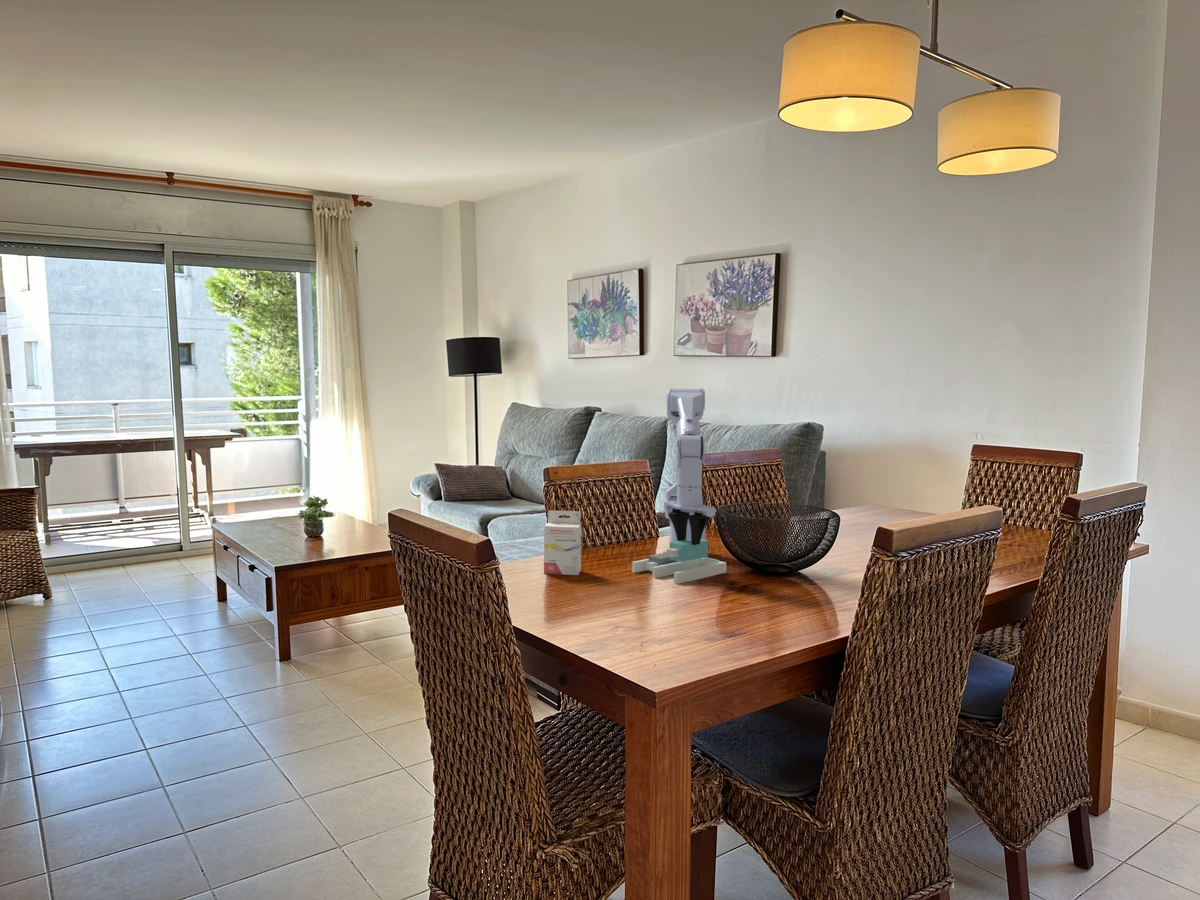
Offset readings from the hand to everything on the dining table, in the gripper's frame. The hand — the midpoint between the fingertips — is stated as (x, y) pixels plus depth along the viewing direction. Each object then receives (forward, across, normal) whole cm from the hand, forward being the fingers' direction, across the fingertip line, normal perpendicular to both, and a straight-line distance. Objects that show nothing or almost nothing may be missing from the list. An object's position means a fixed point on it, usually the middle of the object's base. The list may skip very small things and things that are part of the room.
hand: (688, 542), depth 195 cm
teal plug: (+4, 0, 0) cm, 4 cm away
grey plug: (+8, -7, 0) cm, 11 cm away
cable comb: (+8, -4, +1) cm, 9 cm away
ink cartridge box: (+8, -22, -21) cm, 31 cm away
